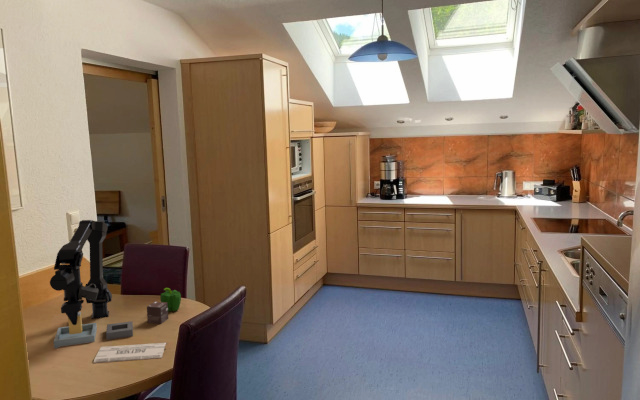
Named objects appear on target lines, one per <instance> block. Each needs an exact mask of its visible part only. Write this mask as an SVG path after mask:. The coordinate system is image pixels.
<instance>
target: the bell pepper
mask: <svg viewBox="0 0 640 400" xmlns="http://www.w3.org/2000/svg"><path fill="white" fill-rule="evenodd" d="M163 291H165V292H161V293H160V297H159V298H160V302H167V305H168V312H177V311H179V309H180V306H181V301H182V294H181V292H180V291H177V290H176V289H174V290H171V288H169V287H165V288H163Z"/></svg>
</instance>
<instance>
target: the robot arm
mask: <svg viewBox="0 0 640 400" xmlns="http://www.w3.org/2000/svg"><path fill="white" fill-rule="evenodd" d="M108 229H109V228H108V224H107V223H105V221H104V220H93V219H82V220H80V221H79V222H78V227H77V228H76V230H75V231H74V234H72V235H73V236H72V237H71V239H70V240H69V242H68V243H66V244H63V245H62V246H61V248H60V249H59V250H58V252H57V253H56V258H55V262H54V266H53V270H54V271H55V272H54V275H53V276H52V277H51V278H50V281H49V285H50V287H51V288H52V289H53V290H54V291H58V292H60V291H63V296H64V297H63V303H62V304H61V307H60V313H61V314H65V315H66V316H67V319H68V318H69V319H70V321H71V322H72V324H73V325H76V324H77V317H78V312H81V311H82V309H83V305H82V304H83V303H84V301H86V304H91V308H92V310H91V311H92V313H91V318H90V319H91V320H95V319H105V318H109V315H110V311H109V310H108V303H110V302H112V299H113V294H112V292H111V290H110V289H109V288H108V283H107V281H106V279H104V269H103V266H104V265H103V263H104V262H103V242H104V240H105V239H106V238H107V233H108ZM86 242H88V243H89V280H88V282H87V283H86V284H85V285H83V283H84V282H82V280H81V278H82V277H81V267H82V261H83V257H84V253H83V248H84V247H85V244H86Z"/></svg>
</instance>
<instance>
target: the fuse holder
mask: <svg viewBox="0 0 640 400" xmlns="http://www.w3.org/2000/svg"><path fill="white" fill-rule="evenodd" d="M133 322H134V321H133V320H132V321H131V320H130V321H124V322H117V323H109V324H106V332H105V336H106V337H105V338H106V341H108V340H115V339H124V338H131V337H133V336H134V324H133Z"/></svg>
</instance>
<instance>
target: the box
mask: <svg viewBox="0 0 640 400" xmlns="http://www.w3.org/2000/svg"><path fill="white" fill-rule="evenodd" d="M146 316H147V317H146V318H147V324H152V325H153V324H155V325H162V324H163V323H165V322H166V321H168V320H169V311H168V305H167V302H161V301H154V302H151V303H150V304H149V305H147V306H146Z"/></svg>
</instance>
